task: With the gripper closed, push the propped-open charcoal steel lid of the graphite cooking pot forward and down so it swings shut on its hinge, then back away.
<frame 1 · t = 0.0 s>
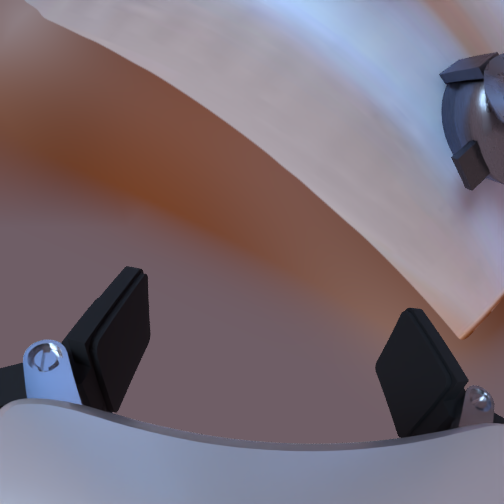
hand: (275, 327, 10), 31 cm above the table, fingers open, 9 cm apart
pot: (481, 122, 32), on the table
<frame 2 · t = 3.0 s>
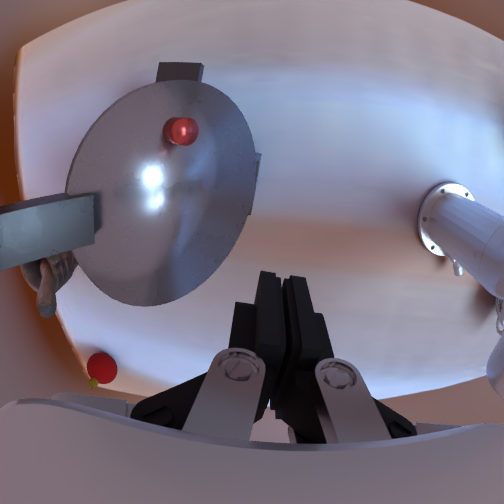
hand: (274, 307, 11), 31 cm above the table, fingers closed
pot: (184, 164, 39), on the table
teacup: (501, 292, 45), on the table
mortar and pestle: (88, 236, 45), on the table
lid: (155, 204, 20), point 21 cm above the table, hinge at 55.0°
christmas ornament: (108, 357, 57), on the table
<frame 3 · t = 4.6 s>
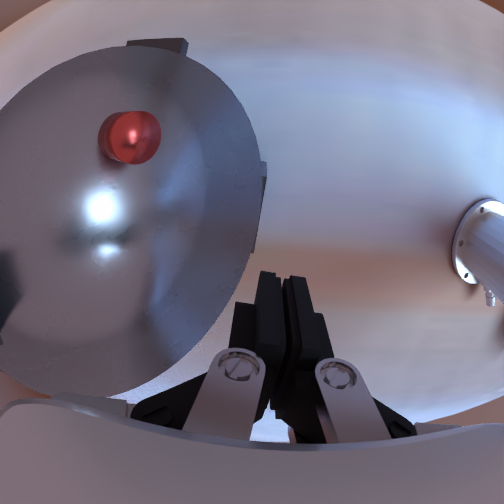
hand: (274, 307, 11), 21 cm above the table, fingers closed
pot: (165, 176, 30), on the table
lid: (95, 267, 11), point 21 cm above the table, hinge at 55.0°
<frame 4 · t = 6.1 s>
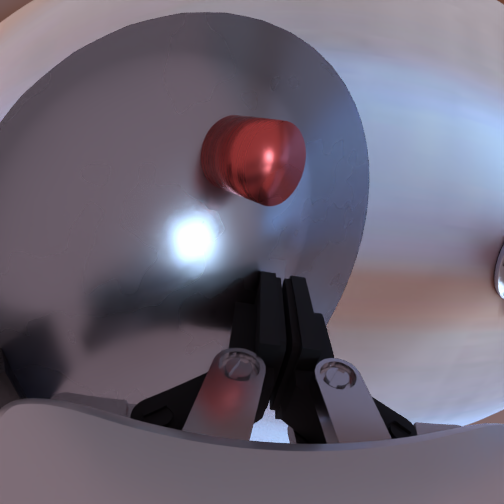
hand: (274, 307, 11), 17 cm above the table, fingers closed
lid: (183, 340, 8), point 20 cm above the table, hinge at 47.4°, touching gripper
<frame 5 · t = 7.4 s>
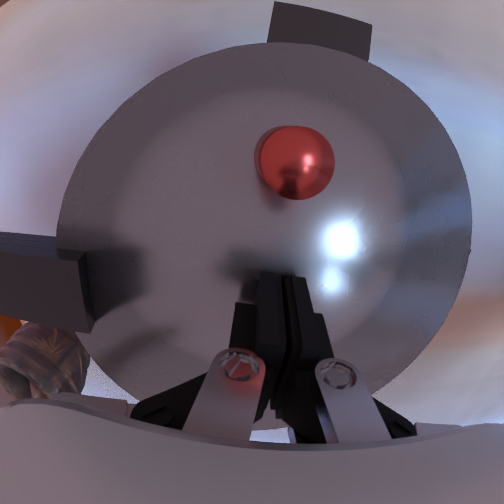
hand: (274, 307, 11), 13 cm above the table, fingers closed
pot: (275, 212, 23), on the table
mortar and pestle: (97, 312, 28), on the table
lid: (224, 305, 11), point 14 cm above the table, hinge at 9.5°, touching gripper
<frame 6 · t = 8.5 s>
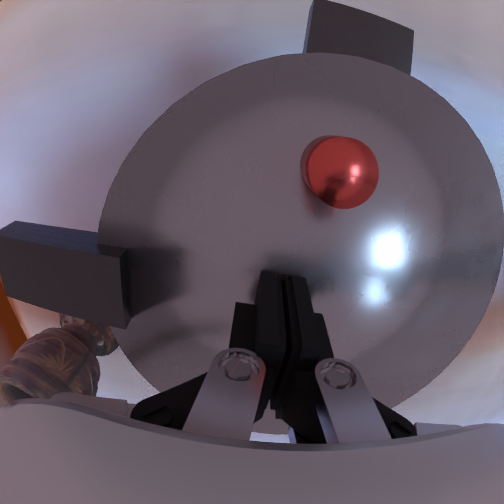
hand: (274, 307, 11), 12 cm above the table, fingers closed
pot: (298, 221, 22), on the table
mortar and pestle: (105, 323, 27), on the table
lid: (263, 309, 11), point 12 cm above the table, hinge at 2.4°, touching gripper
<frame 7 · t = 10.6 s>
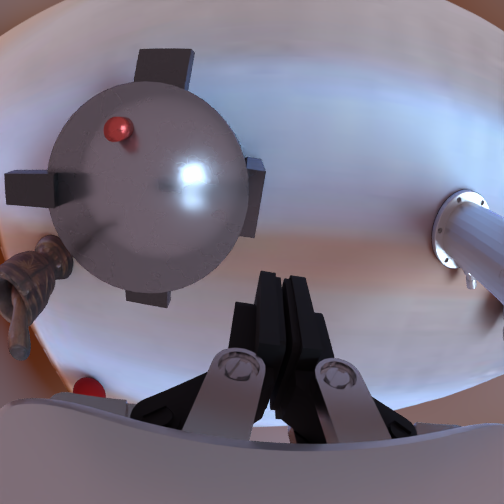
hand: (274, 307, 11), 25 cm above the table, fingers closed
pot: (169, 172, 33), on the table
mortar and pestle: (64, 255, 38), on the table
lid: (104, 193, 22), point 12 cm above the table, hinge at 2.3°
christmas ornament: (95, 381, 50), on the table
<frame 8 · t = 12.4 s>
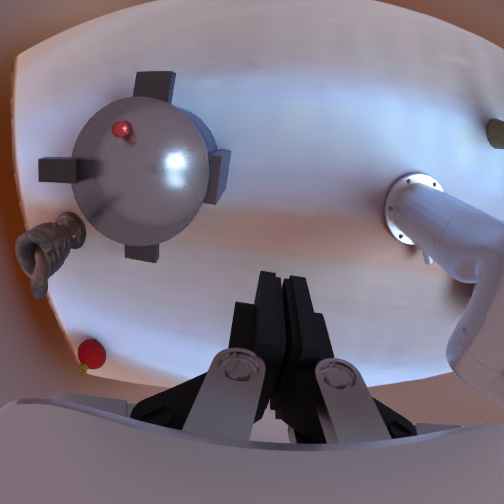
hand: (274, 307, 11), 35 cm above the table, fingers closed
olive green tall piece: (495, 133, 37), on the table
pot: (162, 162, 43), on the table
mortar and pestle: (78, 229, 48), on the table
lid: (111, 172, 32), point 12 cm above the table, hinge at 2.3°
christmas ornament: (98, 344, 60), on the table
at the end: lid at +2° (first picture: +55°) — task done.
